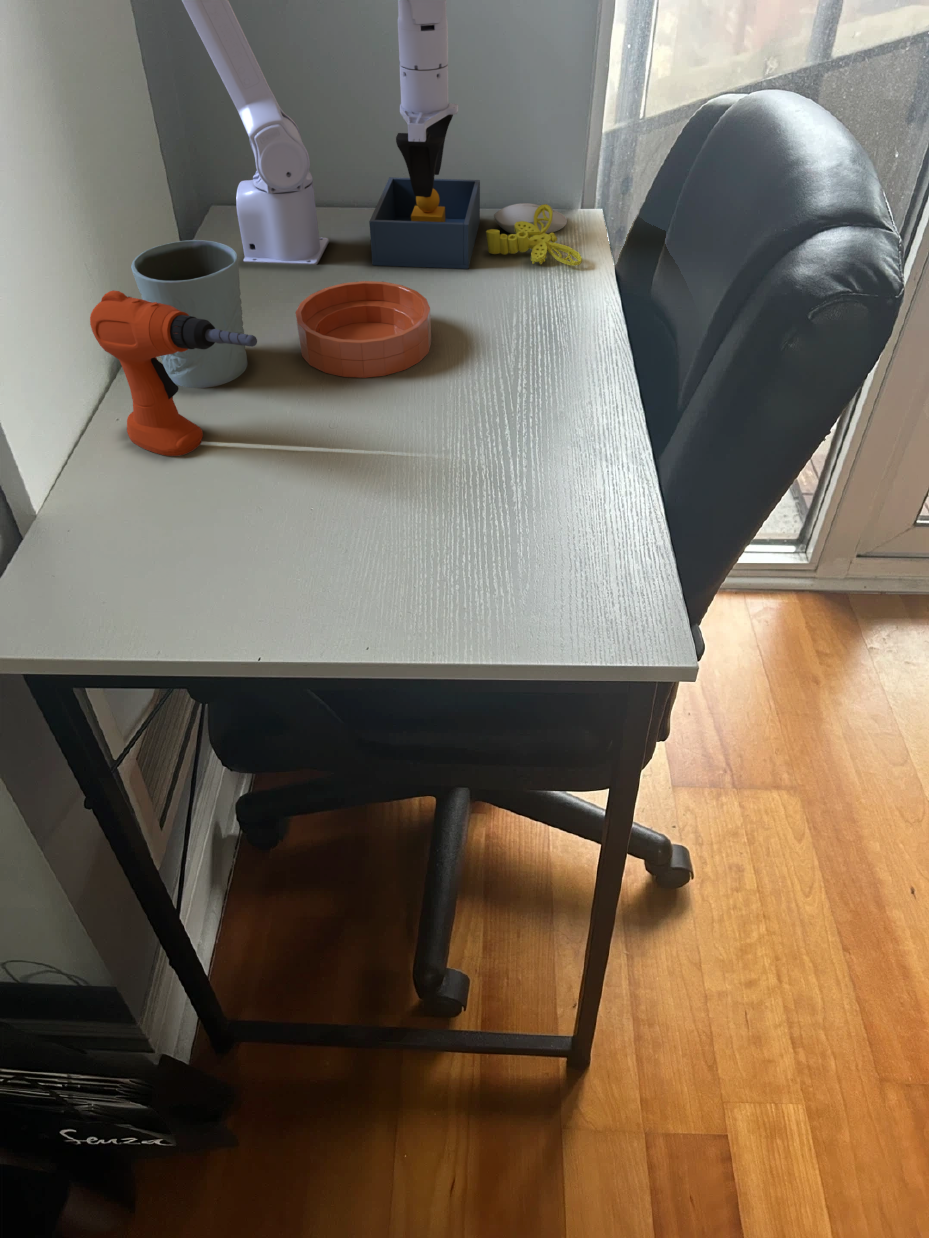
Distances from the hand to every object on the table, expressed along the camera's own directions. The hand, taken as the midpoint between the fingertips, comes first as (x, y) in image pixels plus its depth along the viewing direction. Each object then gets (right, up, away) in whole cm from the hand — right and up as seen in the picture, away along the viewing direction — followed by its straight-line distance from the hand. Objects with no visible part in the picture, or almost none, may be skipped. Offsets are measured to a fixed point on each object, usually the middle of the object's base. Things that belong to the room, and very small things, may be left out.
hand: (427, 184), depth 120 cm
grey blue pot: (-23, -29, -19) cm, 41 cm away
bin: (0, -6, +4) cm, 7 cm away
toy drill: (-20, -40, -30) cm, 54 cm away
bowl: (-6, -26, -17) cm, 31 cm away
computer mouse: (+14, -3, +7) cm, 16 cm away
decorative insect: (+13, -10, -2) cm, 16 cm away
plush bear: (0, -5, +4) cm, 7 cm away
